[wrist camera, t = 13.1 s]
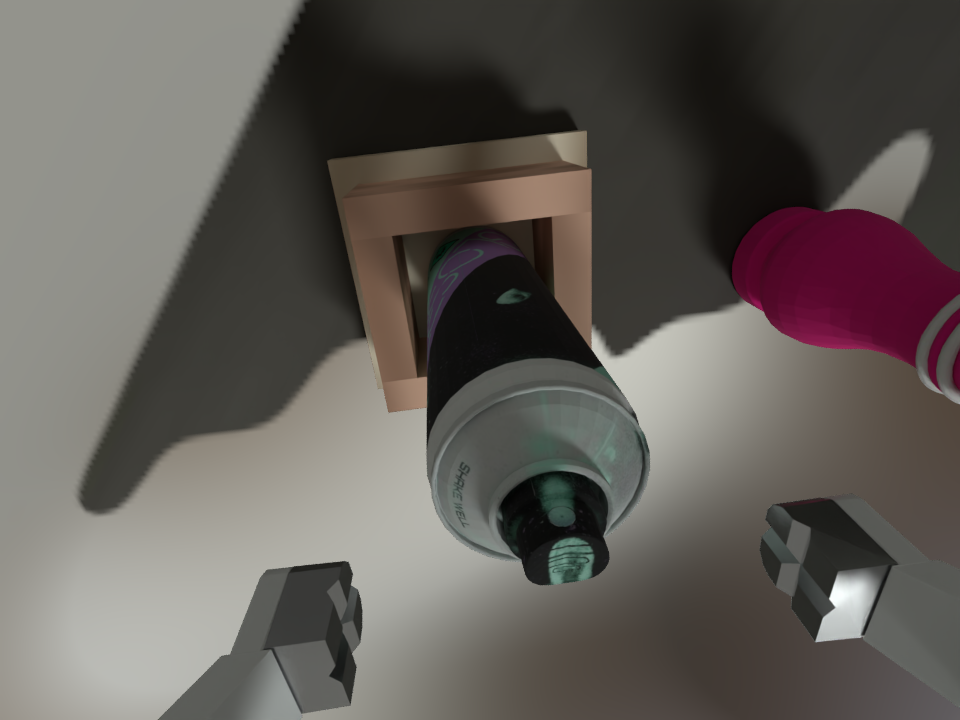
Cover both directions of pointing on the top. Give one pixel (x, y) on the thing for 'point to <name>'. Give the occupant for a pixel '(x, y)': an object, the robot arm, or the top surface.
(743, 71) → the top surface
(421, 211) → the can holder
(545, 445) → the spray can
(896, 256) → the pepper mill
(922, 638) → the robot arm
